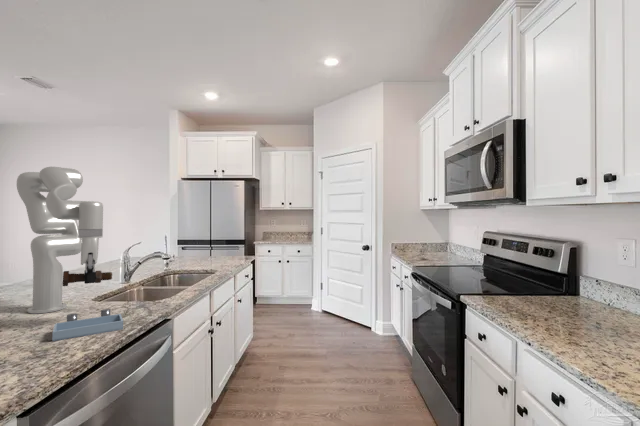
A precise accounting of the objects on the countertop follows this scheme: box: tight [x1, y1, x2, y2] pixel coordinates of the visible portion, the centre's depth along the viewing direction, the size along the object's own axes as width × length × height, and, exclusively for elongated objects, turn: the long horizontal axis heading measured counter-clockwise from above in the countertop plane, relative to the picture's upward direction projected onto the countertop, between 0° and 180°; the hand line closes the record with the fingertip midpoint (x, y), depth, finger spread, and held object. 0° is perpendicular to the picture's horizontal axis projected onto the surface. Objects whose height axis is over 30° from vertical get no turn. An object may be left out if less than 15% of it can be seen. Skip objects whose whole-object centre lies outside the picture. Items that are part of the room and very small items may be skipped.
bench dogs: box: [66, 308, 111, 322], centre depth 117 cm, size 3×13×4 cm, turn 126°
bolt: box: [62, 270, 113, 287], centre depth 120 cm, size 6×5×15 cm
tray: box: [51, 313, 124, 342], centre depth 111 cm, size 10×19×3 cm, turn 127°
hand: (89, 281), depth 121 cm, fingers closed on bolt, 5 cm apart
